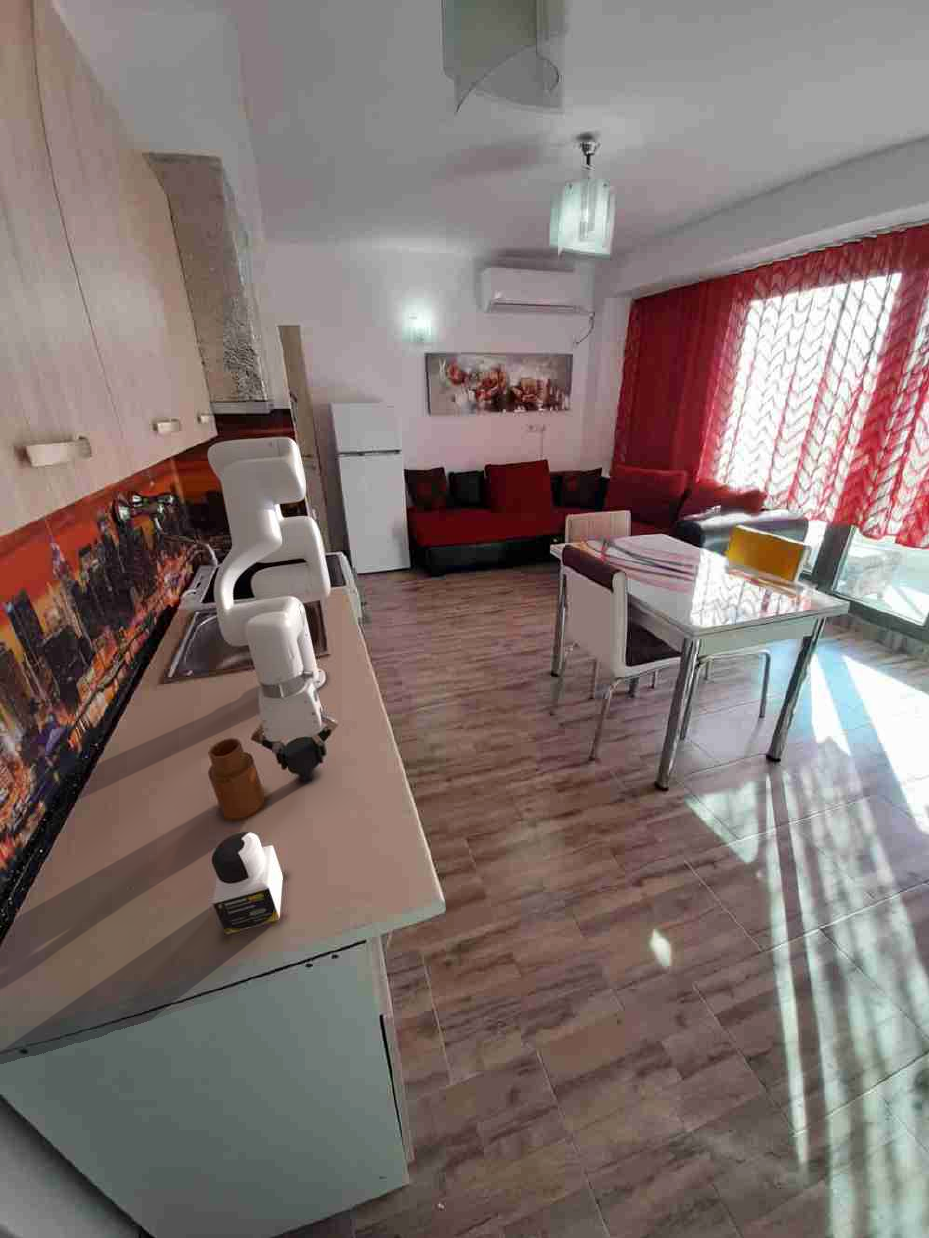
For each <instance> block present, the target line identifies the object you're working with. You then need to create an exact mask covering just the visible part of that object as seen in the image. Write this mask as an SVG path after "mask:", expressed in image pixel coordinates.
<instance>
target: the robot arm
mask: <svg viewBox="0 0 929 1238" xmlns="http://www.w3.org/2000/svg"><path fill="white" fill-rule="evenodd" d="M207 459H208V463H209V466H210V467H211V469H212V471H213V473H214V474H215V476H216V477H217V478H218V480H219V481H220V483H221V489H222V495H223V501H224V505H225V512H226V516H227V521H228V526H229V533H230V538H231V544H232V545H231V549H230V551H229V552H228V554H227V555H226V556H225V558H224V559H223V561H222V562H221V564H220V566H219V568H218V570H217V572H216V576H215V579H214V584H213V599H214V603H215V604H214V605H215V609H216V610H215V611H216V615H217V617H216V618H217V622H218V626H219V627H218V628H219V630H220V634H221V637H222V638H223V640H224V641H225V642H226V643H227V644H228V645H230V646H233V647H244V646H248V649H249V652H250V656H251V660H252V663H253V667H254V670H255V675H256V677H257V680H258V684H259V690H258V709H259V716H260V723H259V725H258V726H257V727H256V729H255V730H254V731H253V732H252V733H251V737H250V740H251V741H253V742H255V743H257V744H259V745H261V746H262V747H264V748H266V749H267V750H270V751H271V753H272V754H274V755H275V759H276V761H277V764H278V765H280V766H281V770H282V771H285V770H288V767H287V763H286V760H285V756H284V753H283V751H284V747H285V746H286V744H285V743H284V742H282V741H288V740H293V739H296V738H300V737H312V738H313V740H314V741H315V742H316V745H315V749H316V753H317V757H318V761H319V764H323V763H324V757H326V756H327V748H326V747H327V746H326V743H325V742H326V741H327V740H328V739H329V738H330V736H331V735H332V733H333V732H334V731H335V730H336V729H337V728H338V726H339V719H338V718H336V717H334V716H332V715H330V714H329V713H327V712H325V711H324V710H323V708H322V704H321V701H320V697H319V695H318V692H317V689H318V690H319V688H321V686H323V685H324V683H325V682H326V679H327V678H326V674H325V671H324V670H323V669H322V668H319V667H318V665H317V661H316V656H315V651H314V650H315V649H314V646H313V642H312V637H311V632H310V628H309V623H308V620H307V612H306V608H305V606H304V604H306V603H312V602H316V601H322V600H325V599H327V598H328V597H329V596H330V594H331V581H330V580H331V579H330V574H329V570H328V565H327V564H328V563H327V560H326V555H325V549H324V545H323V539H322V535H321V532H320V528H319V525H318V524H317V522H316V521H315V519H313V518H312V517H310V516H307V515H297V516H289V517H284V516H283V514H282V510H281V506H280V505H282V504H292V503H299V502H301V501H303V500H304V499H305V497H306V495H307V482H306V474H305V470H304V465H303V459H302V456H301V451H300V448H299V446H298V444H297V443H296V442H295V441H294V439H292V438H291V437H289V436H274V437H261V438H245V439H244V438H243V439H233V440H226V441H221V442H217V443H214V444H212V445H211V446H210V447H209V448H208V449H207ZM298 559H299V560H300V559H302V560H304V561H305V562H298V563H293V564H292V563H291V564H284V565H278V566H271V567H266V568H263V569H260V570H258V571H257V572H255V573H254V574H253V576H252V577H251V579H250V587H251V591H252V594H253V596H254V600H252V601H247V602H240V603H234V602H235V601H234V588H235V584H236V582H237V580H238V579H239V578H240V576H241V575H242V574H243V573H244V572H245V571H246V570H247V569H249V568H250V567H251V566H253V565H254V564H256V563H257V562H258V563H263V564H264V563H265V564H268V563H277V562H284V561H291V560H292V561H293V560H298ZM323 723H324V724H326V726H325V727H324V728H323Z"/></svg>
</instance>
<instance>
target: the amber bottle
mask: <svg viewBox="0 0 929 1238" xmlns="http://www.w3.org/2000/svg"><path fill="white" fill-rule="evenodd" d="M207 753H208V757H209V760H210V763H211V765H210V767H209V769H208V771H207V775H208V778H209V780H210V784H211V786H212V789H213V792H214V794H215V797H216V800H217V802H218V805H219V807H220V811H221V813H222V814H223V816H224V817H225V818H226V819H229V820H241V819H244V818H247V817H249V816H251V815H253V814H254V813H256V812H257V811H258V810H259V809H260V808H261V807H262V805H263V804H264V802H265V797H266V795H265V792H264V789H263V786H262V783H261V779H260V776H259V773H258V770H257V767H256V764H255V761H254V758H253V755H252V754H250V753H249V752H246V751H244V748H243V745H242V743H241V741H240V739H239V738H233V737H230V738H225V739H222V740H220V741H217V742H215V744H213V745H212V746H211V747H210V748H209V750H208V752H207Z"/></svg>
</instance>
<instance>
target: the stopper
mask: <svg viewBox="0 0 929 1238" xmlns="http://www.w3.org/2000/svg"><path fill="white" fill-rule="evenodd" d="M315 745H316V742H315V741H314V740H313V738H312V737H311V736H306V737H300V738H295V739H291V740H289V741H288V742H287V743H286V744H285V747H284V751H283V753H284V756H285V760H286V763H287V770H288V771H289V773H291V774H293V775H298V779H299V781H300V782H301V783H304V784H305V783H309V782H312V781H313V780H314V779H315V778H316V777H317V776H316V770H315V769H316V768H317V767H318V766H319V764H320V763H319V761H318V757H317V753H316V749H315Z"/></svg>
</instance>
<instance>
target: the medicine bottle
mask: <svg viewBox="0 0 929 1238" xmlns="http://www.w3.org/2000/svg"><path fill="white" fill-rule="evenodd" d="M277 857H278V856H277V854H276V850H275V848H274V846H273V845H271V844H270V845H267V846H262V843H261V840H260V838H259V836H258V835H257V834H255V833H253V832H250V831H241V832H237V833H234V834H231V835H229V836H228V837H226V838H225V839H224V840H222V841H221V842H220V843H219V844H218V845H217V847H216V848H215V850H214V851H213V853H212V856H211V864H212V866H213V869H214V871H215V874H216V876H217V878H216V882H215V886H214V891H213V892H214V893H213V895H212V900H211V902H212V905H213V907H214V910H215V912H216V914H217V917H218V919H219V921H220V923H221V926H222V928H223V930H224V933H225V934H226V935H229V934H234V933H237V932H241V931H243V930H247V929H251V928H253V927H254V928H255V927H258V926H261V925H265V924H268V923H271V922H275V921H278V920H279V919H280V916H281V907H282V906H281V905H282V894H283V893H282V892H283V891H282V890H283V882H284V881H283V879H284V875H283V873H282V870H281V869H282V868H281V865H280V863H279V860H278V858H277Z"/></svg>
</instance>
